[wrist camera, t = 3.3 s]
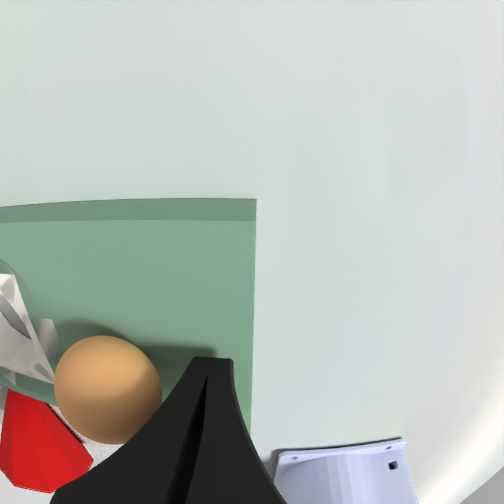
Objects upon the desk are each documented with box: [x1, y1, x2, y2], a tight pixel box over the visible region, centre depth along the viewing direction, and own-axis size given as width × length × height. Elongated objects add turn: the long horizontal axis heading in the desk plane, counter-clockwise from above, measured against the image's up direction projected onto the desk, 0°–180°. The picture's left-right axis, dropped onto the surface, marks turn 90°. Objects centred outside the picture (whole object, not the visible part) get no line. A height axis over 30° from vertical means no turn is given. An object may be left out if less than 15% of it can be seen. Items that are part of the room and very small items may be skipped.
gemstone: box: [0, 389, 94, 493], centre depth 16 cm, size 9×9×10 cm
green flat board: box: [0, 198, 256, 435], centre depth 12 cm, size 18×11×2 cm, turn 89°
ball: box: [54, 335, 162, 444], centre depth 9 cm, size 4×4×4 cm
